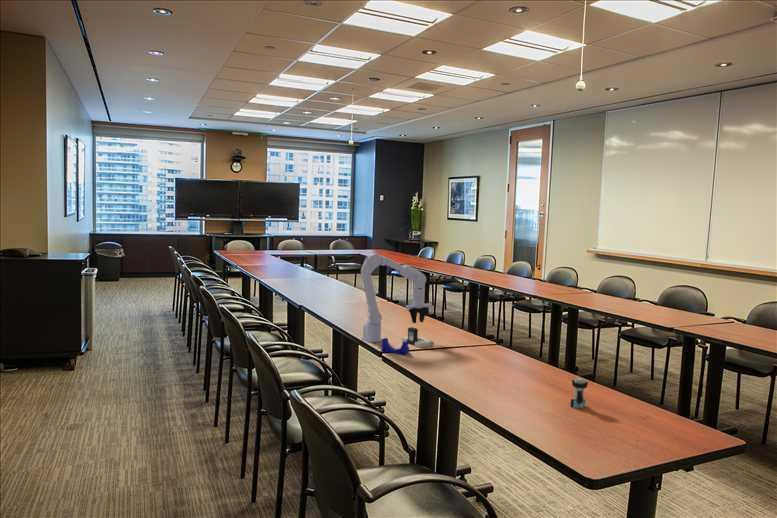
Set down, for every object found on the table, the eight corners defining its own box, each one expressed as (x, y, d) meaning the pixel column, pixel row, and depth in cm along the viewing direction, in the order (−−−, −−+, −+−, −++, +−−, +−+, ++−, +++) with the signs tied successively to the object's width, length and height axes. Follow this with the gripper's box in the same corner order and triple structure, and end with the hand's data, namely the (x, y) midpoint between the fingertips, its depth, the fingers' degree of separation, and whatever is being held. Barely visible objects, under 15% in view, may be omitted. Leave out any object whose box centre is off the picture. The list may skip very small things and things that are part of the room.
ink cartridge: (407, 343, 276) (407, 327, 275) (410, 342, 277) (411, 327, 277) (413, 345, 272) (414, 329, 271) (417, 344, 273) (417, 328, 273)
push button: (581, 403, 197) (583, 376, 196) (592, 408, 192) (594, 380, 191) (566, 405, 195) (568, 377, 194) (577, 410, 190) (579, 382, 189)
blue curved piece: (408, 353, 257) (409, 340, 257) (405, 355, 253) (405, 342, 253) (385, 349, 262) (386, 337, 262) (381, 351, 258) (382, 339, 258)
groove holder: (402, 341, 279) (402, 337, 279) (416, 339, 284) (416, 335, 284) (418, 347, 267) (419, 343, 267) (433, 345, 272) (433, 341, 272)
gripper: (412, 298, 272) (411, 325, 273) (434, 296, 280) (433, 322, 282) (403, 296, 278) (402, 322, 279) (426, 294, 286) (425, 320, 287)
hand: (417, 322), depth 281 cm, fingers open, 4 cm apart
